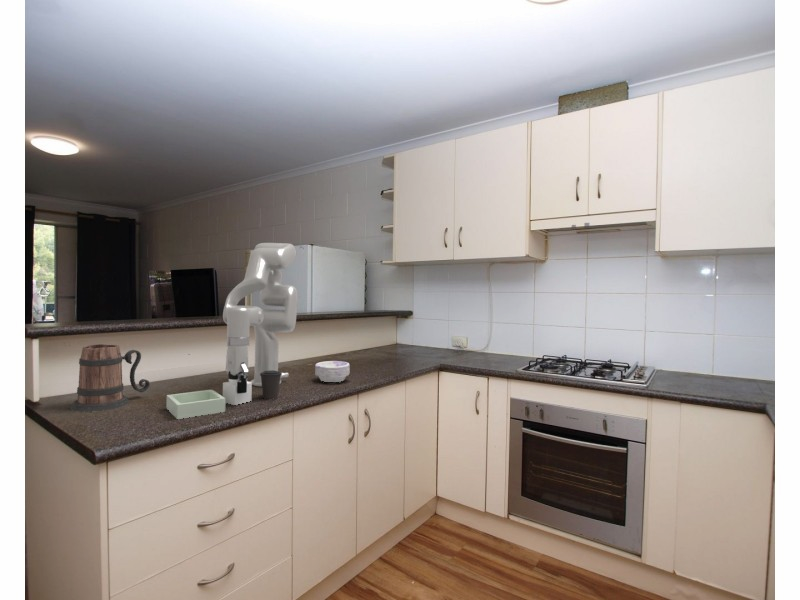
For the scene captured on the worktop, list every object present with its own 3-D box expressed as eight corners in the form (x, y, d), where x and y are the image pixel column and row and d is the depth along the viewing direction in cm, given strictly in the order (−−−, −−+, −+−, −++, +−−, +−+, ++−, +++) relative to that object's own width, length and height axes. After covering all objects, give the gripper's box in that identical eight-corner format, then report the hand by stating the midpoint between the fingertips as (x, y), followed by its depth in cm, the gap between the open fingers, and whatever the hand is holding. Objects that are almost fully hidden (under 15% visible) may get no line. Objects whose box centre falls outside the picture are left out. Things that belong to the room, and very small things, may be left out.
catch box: (211, 402, 152) (211, 389, 152) (225, 411, 141) (225, 398, 141) (166, 408, 143) (166, 395, 143) (177, 419, 132) (177, 405, 132)
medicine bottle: (251, 401, 154) (252, 368, 154) (234, 406, 148) (235, 371, 148) (239, 398, 158) (240, 366, 158) (222, 402, 152) (222, 368, 152)
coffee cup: (258, 395, 163) (258, 369, 162) (280, 394, 166) (280, 368, 165) (260, 401, 155) (260, 373, 155) (283, 399, 158) (283, 372, 158)
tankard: (79, 415, 133) (79, 351, 133) (61, 405, 143) (62, 345, 143) (158, 401, 152) (159, 344, 151) (138, 392, 162) (139, 340, 161)
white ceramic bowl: (307, 382, 188) (308, 364, 188) (328, 376, 202) (329, 359, 202) (335, 386, 181) (336, 368, 181) (355, 380, 195) (356, 362, 195)
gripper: (219, 339, 157) (218, 387, 157) (236, 345, 144) (235, 397, 144) (239, 338, 162) (238, 384, 162) (258, 344, 149) (257, 394, 149)
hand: (237, 390), depth 153 cm, fingers closed on medicine bottle, 8 cm apart
